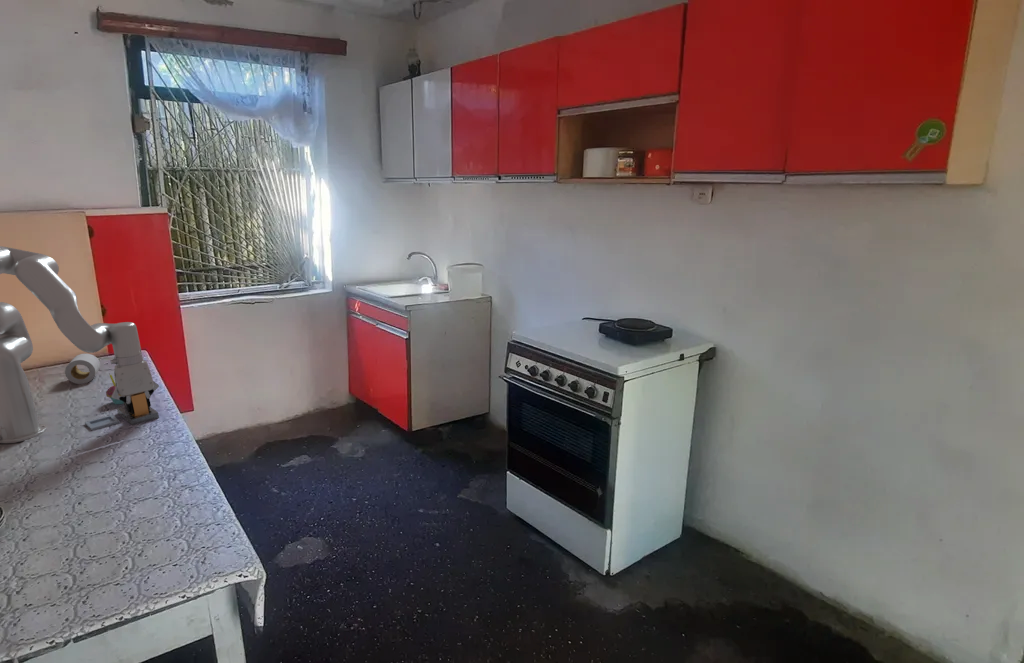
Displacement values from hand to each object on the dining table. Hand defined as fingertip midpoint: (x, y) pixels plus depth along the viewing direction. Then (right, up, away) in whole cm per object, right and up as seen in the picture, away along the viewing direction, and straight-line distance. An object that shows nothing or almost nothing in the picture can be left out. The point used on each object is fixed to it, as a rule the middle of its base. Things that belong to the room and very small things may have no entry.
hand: (139, 410), depth 198 cm
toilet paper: (-49, +7, +43) cm, 66 cm away
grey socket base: (-2, -3, +3) cm, 5 cm away
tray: (-11, -4, -3) cm, 12 cm away
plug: (0, -2, 0) cm, 2 cm away
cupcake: (-17, +1, +17) cm, 24 cm away
